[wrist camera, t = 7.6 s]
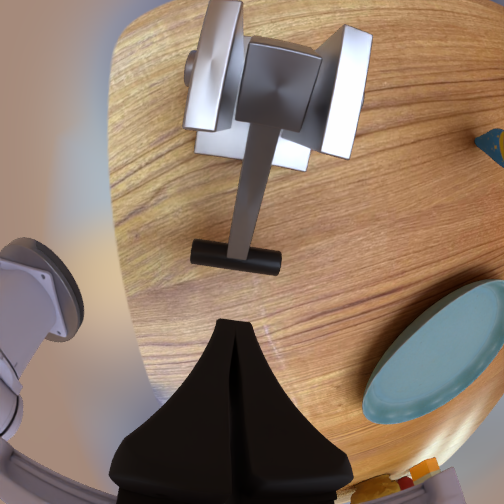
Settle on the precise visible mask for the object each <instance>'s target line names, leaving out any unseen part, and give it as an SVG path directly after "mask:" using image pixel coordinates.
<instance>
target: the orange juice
mask: <svg viewBox="0 0 504 504" xmlns="http://www.w3.org/2000/svg"><path fill="white" fill-rule="evenodd" d="M409 470H410V473H411V476H412V480H413V483H414V486H415V485H418V484H420V483H423V482H424V481H425V480H427V479H428V478H430V477H432V476H434V475H436V474H438V473H440V472H441V471H440V469H439V466H438V463H437V460H436V458H431V459H427V460H424V461H423V462H421V463H419V464H418V465H416V466H414V467H413V468H411V469H409Z"/></svg>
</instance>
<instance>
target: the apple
mask: <svg viewBox="0 0 504 504" xmlns="http://www.w3.org/2000/svg"><path fill="white" fill-rule="evenodd" d="M397 483H398V485H399V487H400V490H401V491H402V490H405V489H408V488H410V487H413V486H414V483H413V480H412V479H411V478H409V477H403V478H401V479H399V480H398V481H397Z"/></svg>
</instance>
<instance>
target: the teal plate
mask: <svg viewBox="0 0 504 504" xmlns="http://www.w3.org/2000/svg"><path fill="white" fill-rule="evenodd" d="M503 344H504V280H500V279H486V280H481V281H477V282H473V283H471V284H468V285H466V286H463V287H461V288H459V289H457V290H455V291H454V292H452V293H450V294H448V295H447V296H445V297H444V298H442V299H441V300H439V301H438V302H436V303H435V304H434V305H432V306H431V307H430V308H428V309H427V310H426V311H425V312H423V313H422V314H421V315H420V316H419V317H418V318H416V319H415V320H414V321H413V322H412V323H411V324H410V325H409V326H408V327H407V328H406V329H405V330H404V331H403V332H402V333H401V334H400V335H399V336H398V337H397V339H396V340H395V341H394V342H393V343H392V345H391V346H390V347H389V348H388V350H387V351H386V352H385V354H384V355H383V356H382V358H381V359H380V361H379V362H378V364H377V365H376V367H375V369H374V371H373V373H372V374H371V377H370V379H369V381H368V383H367V386H366V389H365V392H364V396H363V402H362V410H363V414H364V415H365V417H366V418H367V419H368V420H370V421H371V422H374V423H378V424H396V423H402V422H406V421H409V420H412V419H415V418H418V417H421V416H423V415H425V414H427V413H430V412H432V411H433V410H435V409H437V408H439V407H441V406H442V405H444V404H446V403H447V402H449V401H450V400H452V399H453V398H454V397H456V396H457V395H458V394H460V393H461V392H462V391H464V390H465V389H466V388H467V387H468V386H469V385H470V384H471V383H473V382H474V381H475V380H476V379H477V378H478V377H479V376H480V375H481V373H482V372H483V371H484V370H485V369H486V368H487V367H488V365H489V364H490V363H491V362H492V360H493V359H494V358H495V356H496V355H497V354H498V352H499V351H500V349H501V347H502V346H503Z"/></svg>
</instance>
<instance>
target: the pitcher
mask: <svg viewBox="0 0 504 504" xmlns="http://www.w3.org/2000/svg"><path fill="white" fill-rule="evenodd" d="M389 476H390V475H389V474H387V475H386V474H385V475H381V476H377V477H374V478H372V479H369V480H367V481H364V482H361V483H359V484H358V485H355V486H354V487H355V488H357V489H356V492H355V493H354V494H352V496H351V503H350V504H359V503H363V502H367V501H370V500H374V499H377V498H381V497H384V496H387V495H390V494H393V493H396V492H399V491H401V490H400V487H399V485H398V483H397V482H396V481H395V480H391V479H390V478H389Z"/></svg>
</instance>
